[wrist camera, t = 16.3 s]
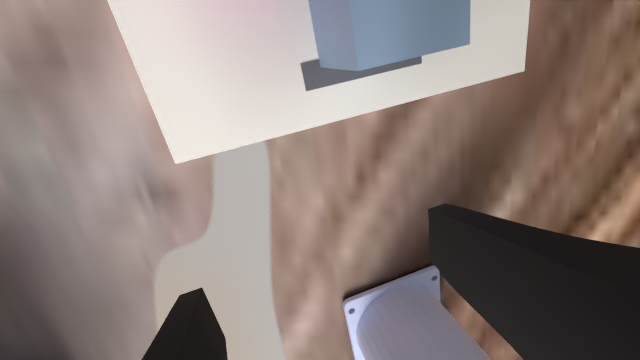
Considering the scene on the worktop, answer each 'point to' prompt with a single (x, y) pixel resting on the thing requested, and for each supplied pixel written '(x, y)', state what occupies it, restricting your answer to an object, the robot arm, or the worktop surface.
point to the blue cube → (386, 30)
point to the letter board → (286, 68)
